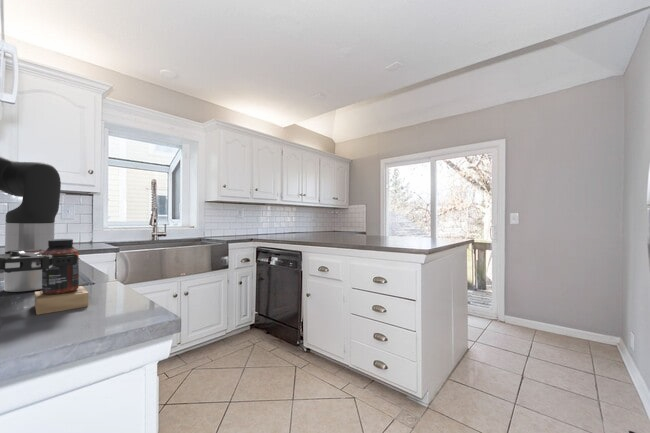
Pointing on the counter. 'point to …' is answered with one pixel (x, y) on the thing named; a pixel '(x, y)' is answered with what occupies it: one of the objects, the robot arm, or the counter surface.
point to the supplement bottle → (60, 269)
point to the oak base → (60, 301)
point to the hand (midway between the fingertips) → (73, 256)
